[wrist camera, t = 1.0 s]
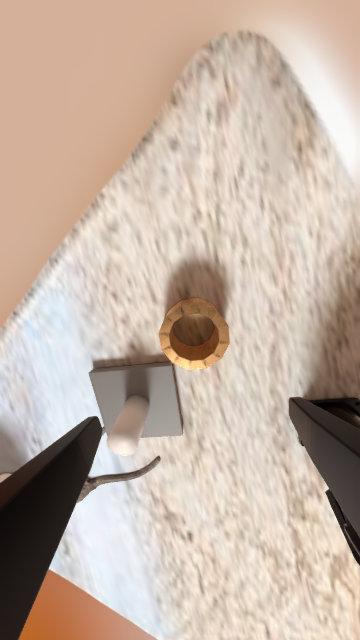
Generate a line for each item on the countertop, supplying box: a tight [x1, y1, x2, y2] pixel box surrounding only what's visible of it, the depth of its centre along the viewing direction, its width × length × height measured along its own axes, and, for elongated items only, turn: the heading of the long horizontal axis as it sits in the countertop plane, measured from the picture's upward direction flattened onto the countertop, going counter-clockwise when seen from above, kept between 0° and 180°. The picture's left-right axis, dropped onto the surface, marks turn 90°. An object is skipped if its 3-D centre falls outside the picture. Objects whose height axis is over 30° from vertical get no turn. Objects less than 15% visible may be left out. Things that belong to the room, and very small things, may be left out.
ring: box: [159, 298, 230, 370], centre depth 18 cm, size 6×6×4 cm
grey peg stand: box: [89, 362, 183, 456], centre depth 20 cm, size 10×10×6 cm
